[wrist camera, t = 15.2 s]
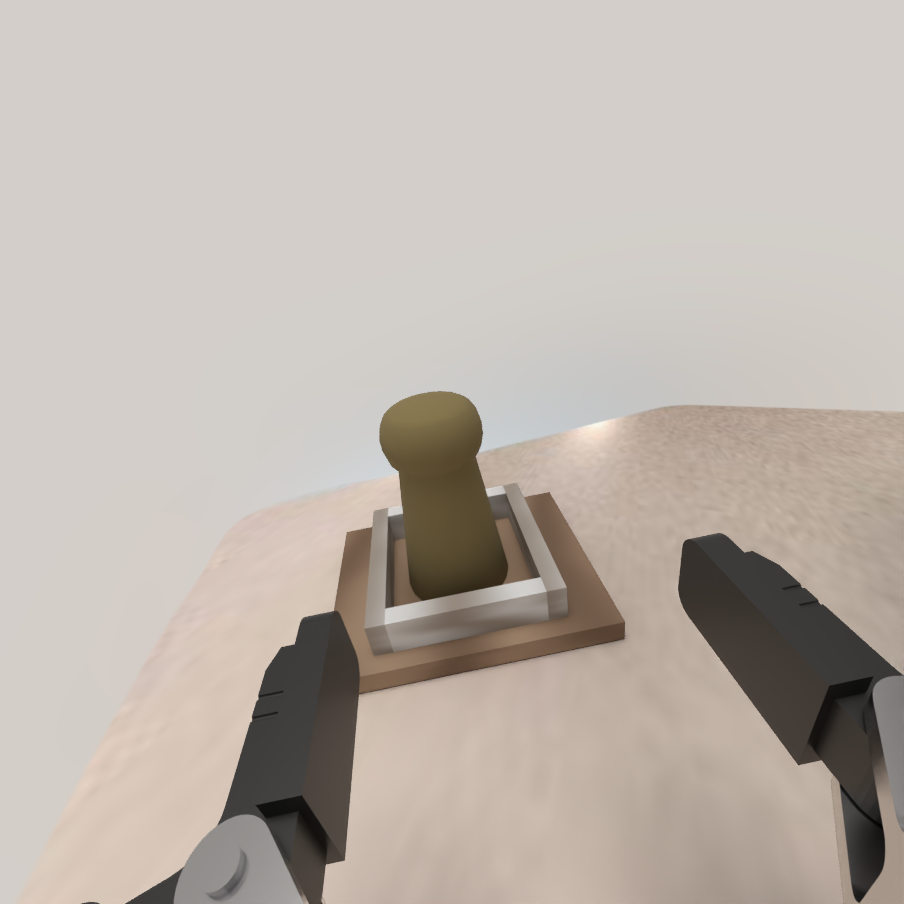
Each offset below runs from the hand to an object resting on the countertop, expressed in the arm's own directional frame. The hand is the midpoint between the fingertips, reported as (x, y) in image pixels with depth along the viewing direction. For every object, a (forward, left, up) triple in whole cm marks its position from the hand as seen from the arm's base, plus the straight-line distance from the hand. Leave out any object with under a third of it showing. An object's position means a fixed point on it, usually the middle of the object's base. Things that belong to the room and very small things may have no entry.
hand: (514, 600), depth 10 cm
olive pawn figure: (+1, -13, -11) cm, 17 cm away
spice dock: (+1, -13, -12) cm, 18 cm away
